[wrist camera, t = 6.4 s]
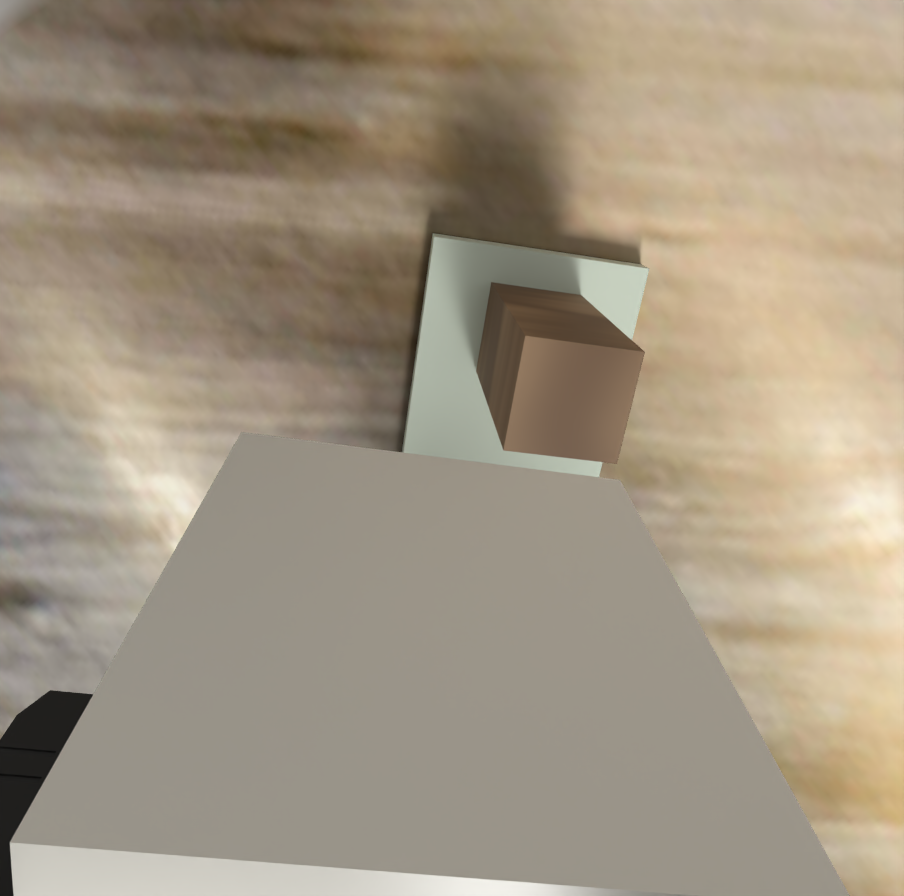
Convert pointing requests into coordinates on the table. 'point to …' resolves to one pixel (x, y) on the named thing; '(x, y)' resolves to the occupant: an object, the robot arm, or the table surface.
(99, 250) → the table surface
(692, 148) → the table surface
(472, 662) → the white square column
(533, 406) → the tall post
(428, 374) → the rack
